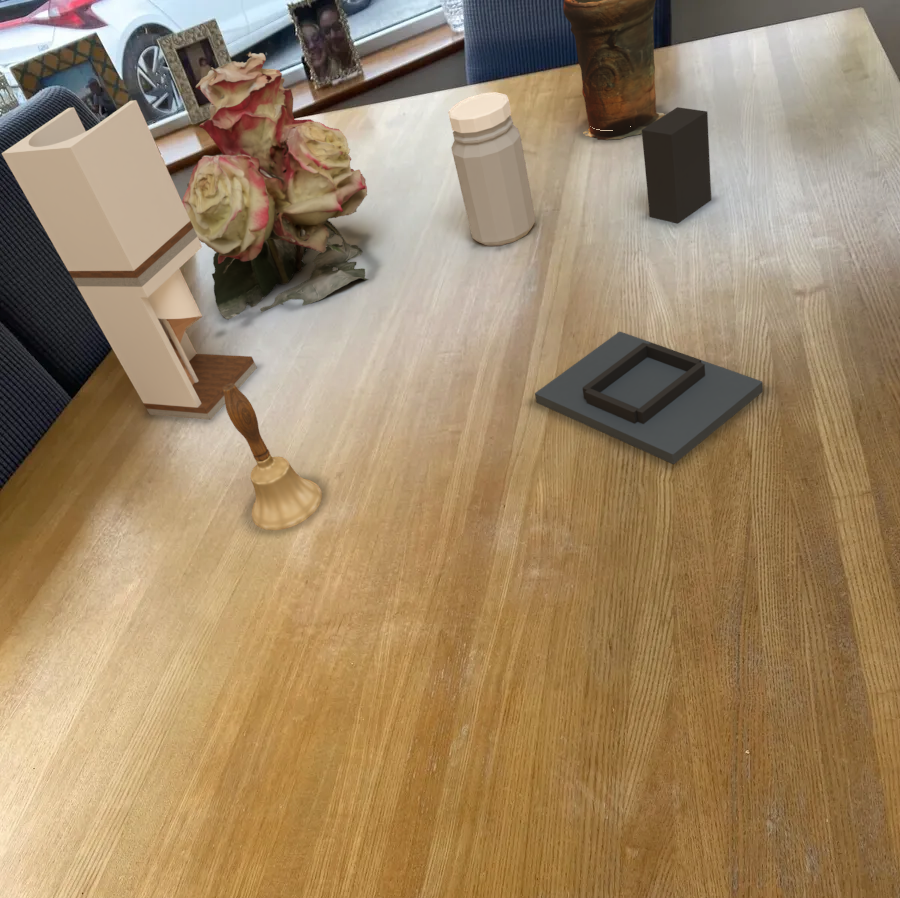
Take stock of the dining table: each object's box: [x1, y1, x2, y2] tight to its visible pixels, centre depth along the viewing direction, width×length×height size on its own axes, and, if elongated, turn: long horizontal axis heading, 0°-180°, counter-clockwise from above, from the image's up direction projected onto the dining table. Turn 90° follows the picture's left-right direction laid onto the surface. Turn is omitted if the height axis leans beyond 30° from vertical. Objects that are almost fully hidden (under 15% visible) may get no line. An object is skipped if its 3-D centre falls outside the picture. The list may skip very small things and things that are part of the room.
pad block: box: [641, 106, 712, 224], centre depth 126 cm, size 5×7×12 cm
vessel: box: [562, 0, 666, 141], centre depth 148 cm, size 14×14×20 cm
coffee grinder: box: [1, 99, 258, 421], centre depth 115 cm, size 11×11×35 cm
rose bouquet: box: [181, 51, 368, 320], centre depth 135 cm, size 26×29×30 cm
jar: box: [447, 91, 537, 247], centre depth 132 cm, size 10×10×18 cm
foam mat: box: [534, 331, 764, 465], centre depth 102 cm, size 20×14×3 cm
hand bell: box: [223, 383, 323, 531], centre depth 99 cm, size 8×8×16 cm
